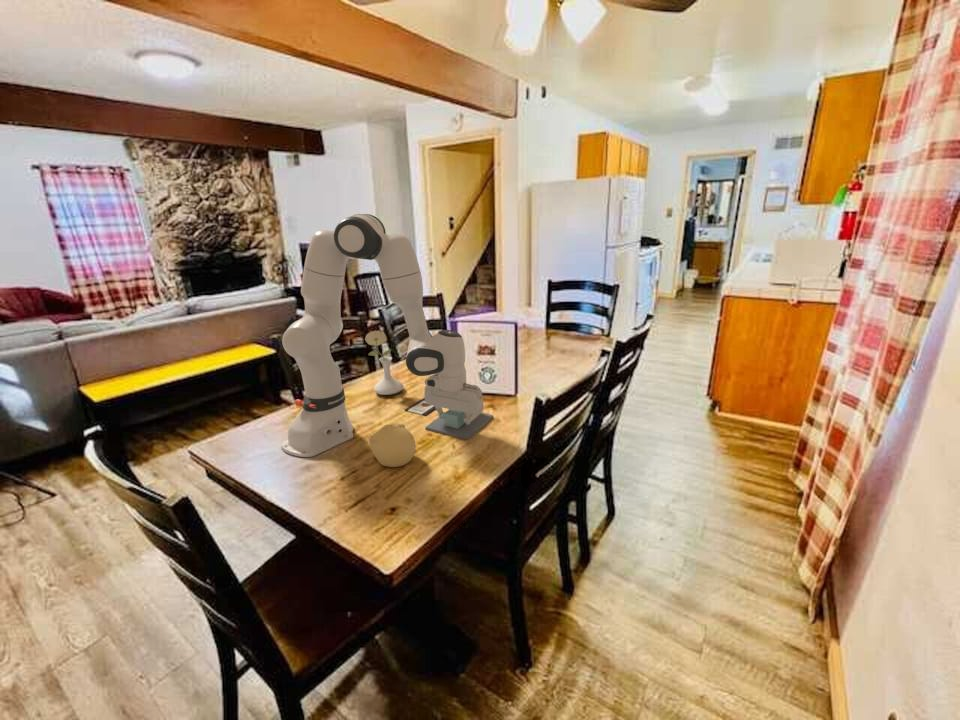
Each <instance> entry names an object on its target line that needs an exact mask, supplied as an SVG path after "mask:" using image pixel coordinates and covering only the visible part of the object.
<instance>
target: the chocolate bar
mask: <svg viewBox="0 0 960 720" xmlns="http://www.w3.org/2000/svg"><path fill="white" fill-rule="evenodd" d="M404 411H405V412H408V413H411V414H416V415H421V416H423V417H426V416H428V415H429V414H431V413H432V412H434V411H436V409H435V406H433V405H428V404H427V403H426V402H425V397H423V398H422V399H420V400H418V401H417V402H414V403H413V404H411V405H410V406H408V407H406V408H405V409H404Z"/></svg>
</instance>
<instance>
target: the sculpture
mask: <svg viewBox="0 0 960 720" xmlns="http://www.w3.org/2000/svg"><path fill="white" fill-rule="evenodd" d="M368 442H369V444H370V445H369V447H370V451H371V452H372V453H373V455H374V457H375V458H376V460H377V462H379V463H380V465H382V466H385V467H389V468H398V467H402V466H405V465H407V464H408V463H409V462H411V460H412V459H413V457H414V456H415V452H416V445H417V444H416V440H415V438H414V435H413V434H412V432H410V430H409V429H408V428H406V426H405V424H404V423H396V424H395V423H394V424H386V425H384V426H382V427H381V428H380V429H379V430H378V431H376V432H374V433H373V434H371V435H370V437H369V438H368Z"/></svg>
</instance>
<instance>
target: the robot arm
mask: <svg viewBox="0 0 960 720" xmlns="http://www.w3.org/2000/svg"><path fill="white" fill-rule="evenodd" d="M386 233H387V232H386V227H385V225H384V223H383V222H382V221H381V219H379V218H378V217H376V216H375V215H372V214H370V213H369V214H368V213H358V214H353V215H351V216H348V217H344V218H343V219H341V220H340V221H339V222H338V223H337V225H336V227H335V228H334V230H330V229H329V230H328V229H323V230H318V231H316V232H314V233H313V235H312V236H311V239H310V242H309V245H308V247H307V251H306V255H305V260H304V266H303V272H302V273H303V274H302V281H301V287H300V295H301V296H302V297H303V301H304V314H303V316H302V317H301V318H299V319H297V320H295V321H294V322H293V323H291V324H290V325H289V326H288V327H287V329H286V330H285V331H284V333H283V335H282V339H281V343H282V346H283V350H284V352H286V353H287V354H288V356H290V357H292V358H293V359H294V360H295V362H296V364H297V366H298V368H299V370H300V371H299V372H300V373H301V378H302V384H303V388H304V396H303V400H302V399H299V398H297V399H295V401H294V406H295V405H296V406H297V407H302V409H301V410H300V411H299V412H298V414H297V416H296V417H295V418H294V420H293V421H292V422H291V423H290V425H289V426H288V429H287V439H286V440H284V441H283V442H282V443H281V444H280V447H281V448H280V449H282V451H283V452H285V453H286V454H289V455H292V456H295V457H300V458H313V457H314V456H316V455H319V454H321V453H323V452H325V451H327V450H329V449H332V448H334V447H336V446H338V445H340V444H343V443H345V442H346V441H349V440H351V439H353V437H354V433H353V431H354V426H353V423H352V421H351V419H350V417H349V414H348V410H347V407H346V402H345V401H346V394H345V390H344V388H343V385H342V378H341V370H340V366H339V364H337V362H335V361H334V359H333V356H332V353H331V351H330V350H331V349H330V345H331V344H333V343H334V342H335V341H336V340H337V339H338V338H339V337H340V335H341V333H342V331H343V328H344V323H343V319H342V317H341V315H342V314H341V312H342V311H341V309H342V308H341V301H342V300H341V299H342V293H343V287H344V282H345V277H346V276H345V275H346V270H347V266H348V265H347V264H348V261H349V259H350V258H353V259H358V260H369V261H372V260H374V261H375V262H376V264H377V265H378V268H379V271H380V275H381V278H382V283H383V287H384V289H385V292H386V293H387V296H388V298H389V300H390V302H392V303H393V304H394V305H396V306H397V307H399V309H400V310H401V312H402V315H403V317H404V321H405V325H406V328H407V331H408V342H407V351H406V352H407V353H406V358H405V365H406V367H407V370H408V371H409V372H410V373H411V374H412V375H415V376H417V377H418V376H419V377H425V376H428V377H427V378H425V379H424V385H425V387H424V394H423V395H424V398H425V402H426V403H427V404H428V405H433V406H435V411H437V414H438V418H441V419H444V413H445V412H446V411H443V409H448V410H449V409H451V410H456V411H460V412H465V413H466V415H467V417H466V418H465V419H464V424H467V425H469V424H470V418H471V416H472V415H473V414H474V415H478V414H479V413H480V412H481V413H482V412H483V410H484V402H483V401H484V400H483V391H482V389H481V388H480V387H479V386H478V385H475V384H470V383H467V370H466V366H465V362H466V348H465V347H466V346H465V342H464V339H463V336H462V335H461V334H460V333H459V332H457V331H455V330H449V329H442V330H439V331H438V332H437V333H435V334H434V335H432V334H431V332H430V331H429V328H428V323H427V320H426V316H425V313H424V307H423V297H424V286H423V278H422V273H421V269H420V264H419V261H418V257H417V255H416V252H415V250H414V247H413V245H412V243H411V240H410V238H408V237H407V236H405V235H403V234H397V233H396V234H395V233H394V234H393V233H392V234H386Z"/></svg>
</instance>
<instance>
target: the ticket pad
mask: <svg viewBox="0 0 960 720" xmlns="http://www.w3.org/2000/svg"><path fill="white" fill-rule="evenodd" d="M466 417H467V415H466V413H465V412H464V419H465V418H466ZM493 418H494V414H489V413H486V412H485V413H484V412H482V411H481V412H480V413H479V414H478V415H474V414H473V415H472V416H471V418H470V424H469V425H467V424H463V425H462V426H461V427H460V428H458V429H456V428H452V427H448V426H445V421H444V419H441V418H439V417H437V418H436V419H434V420H433V421H431V422H430V423H429V424H428V425H426V426H425V430H426V431H431V432H435V433H439V434H443V435H446V436H450V437H455V438H459V439H462V440H466V441H469V440H470V439H471V438H472V437H473V436H475V435H476V434H477V433H478V432H479V431H480V430H481V429H483V427H485V425H487V424H488V423H489V422H490V421H491V420H492V419H493Z"/></svg>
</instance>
